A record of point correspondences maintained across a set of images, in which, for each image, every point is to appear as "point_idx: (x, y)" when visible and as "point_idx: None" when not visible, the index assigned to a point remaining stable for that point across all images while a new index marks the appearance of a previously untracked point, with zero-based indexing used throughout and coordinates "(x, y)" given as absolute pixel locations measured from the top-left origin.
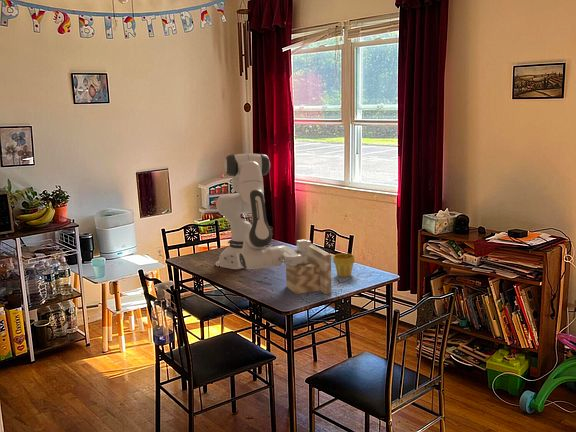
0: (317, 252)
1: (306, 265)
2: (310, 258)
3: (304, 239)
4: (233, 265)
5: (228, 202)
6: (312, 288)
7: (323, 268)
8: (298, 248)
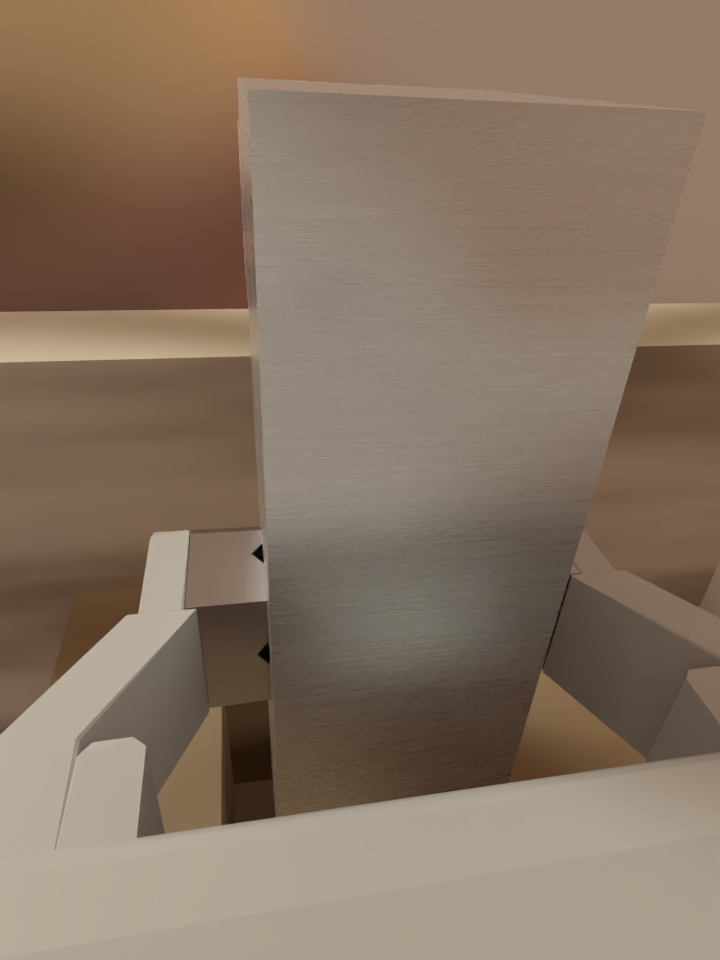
0: None
1: (550, 743)
2: (126, 575)
3: (253, 79)
4: None
5: None
6: None
7: (673, 555)
8: (514, 523)
